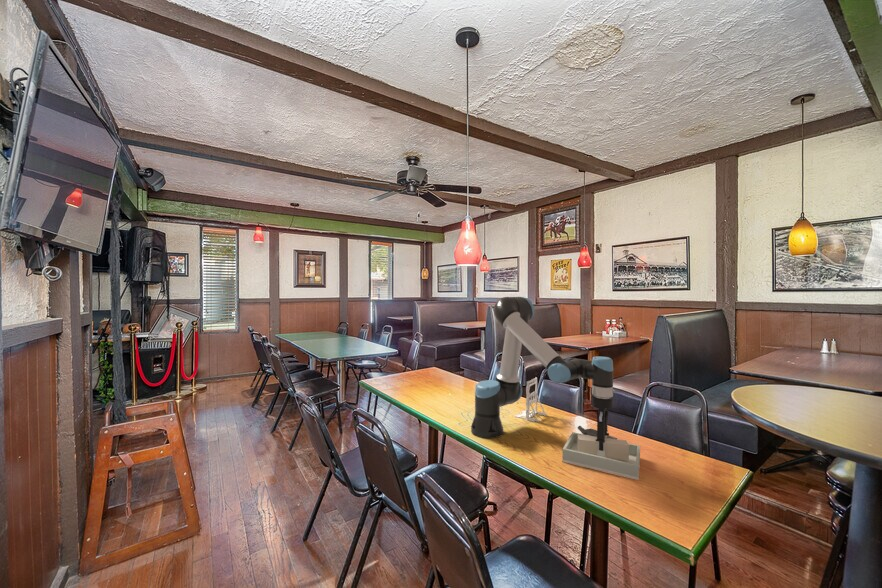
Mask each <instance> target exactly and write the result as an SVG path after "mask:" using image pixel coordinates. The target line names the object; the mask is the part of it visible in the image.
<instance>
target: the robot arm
mask: <svg viewBox="0 0 882 588" xmlns="http://www.w3.org/2000/svg"><path fill="white" fill-rule="evenodd" d="M535 310H536V309H535V307H534V304H533V303H532V301H531V299H529V298H527V297H524V296H523V297H522V296H505V297H501V298H499V299H498V300H497V301H496V302H495V304H494V307H493V313H494V317H495V319H496V320H497V322H498V323H499V324H500V326H501V327H502V328H503V329H505V333H504V341H503V348H502V355H501V361H500V369H499V373H497V374H496V375H495V380H494V379H488V380H481V381H478V382H477V384H475V389H474V390H475V391H474V416H473V420H472V422H471V426H470V432H471V434H473V435H474V436H476V437H479V438H484V439H495V438H499V437H500V438H501V436H502V435H503V434H504V426H503V423H502V420H501V416H500V415H501V413H500V412H501V407H505V406H507V405H513V404H514V403H516V402H518V401H519V400H520V399H521V398H522V395H523V386H522V385H521V382H520V381H521V380H520V378H519V377H518V371H519V365H520V359H521V352H522V345H523V346H524V347H525V348H526V349H527V350H528V351H529V352H530V353H531V355H533V356H534V357H535V358H536V360H537V361H539V363H541V365H542V366H544V368H545V369H546V370H547V376H548V377H549V378H548V379H549V380H551V382H553V383H554V384H555V383H556V384H564V383H567V382H569V381H572V380H573V381H574V380H575V379H587V380H591V381H592V383H591V384H592V385H591V394H592V396H591V397H592V398H591V399H592V401H591V402H592V403H591V404H592V406H593V407H594V408H597V411H596V422H597V423H596V424H597V425H596V430H597V439H595V441H598V447H597V456H601V457H605V438H607V436H606V435H608V436H610V433H609V430H608V419H609V409H612V408H613V407H614V398H613V396H614V392H615V391H616V390H615V389H614V362H613V359H612V358H611V357H609V356H601V355H600V356H597V355H596V356H593V357H592V360H588V359H583V358H582V359H581V358H576V357H566V358H565V359H564V358H563V357H562V356H560V355H559V353H558V352H557V351H555V350H554V349H553V348H552V346H551V345H549V344H548V343H547V342H546V341H545V340H544V339H543V338H542V337H541V335H539V334H538V332H536V331H535V330H534V329H533V328H532V327H531V326H530V325H529V321H530V320H532V318H534V315H535Z"/></svg>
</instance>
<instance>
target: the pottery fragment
mask: <svg viewBox="0 0 882 588" xmlns="http://www.w3.org/2000/svg"><path fill="white" fill-rule="evenodd" d="M577 430H578V431H579V432H580V434H584V435H589V436H594V437H597V429H595V428H583V426H582V425H578V426H577ZM606 436H607V438H611V439H618V438H617V437H614V436H611V435H609V436H608V435H606Z"/></svg>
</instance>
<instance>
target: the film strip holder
mask: <svg viewBox="0 0 882 588" xmlns="http://www.w3.org/2000/svg"><path fill="white" fill-rule="evenodd" d="M534 385H535V389H534V391H533V392H531V393H530V389H531V387H532V386H534ZM525 390H526V391H525V392H526V393H525V395H526V398H525V401H526V402H525V406H526V409H525V410H524V409H523V410H521V411H520V412H519V413H518V414H515V415H514V417H515V418H518V419H522V420H526V421H530V422H534V423H535V421H536V423H540V419H538V417H537V415H538V414H539V415H540V416H543V415H544V416H545V417H547V416H548V414H546V412H545V410H544V407H543V405H542V403H541V401H540V398H539V394H538V377H536V376H535V378H532V379H531V380H528V381H526V387H525ZM538 403H539V405H540V408H541V410H542V411H538ZM533 404H535V405H534V408H533ZM530 407H531V410H530ZM521 413H522V414H521ZM533 413H534V414H533ZM537 413H538V414H537ZM539 415H538V416H539ZM544 416H543V417H544ZM531 417H532V418H531ZM533 417H535V418H533Z"/></svg>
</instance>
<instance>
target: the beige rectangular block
mask: <svg viewBox="0 0 882 588" xmlns="http://www.w3.org/2000/svg"><path fill="white" fill-rule="evenodd" d="M595 439H597V437H593V436H585V435H578V440H577V450H578V452H583V453H587V454H592V455H596V456H597V447H598V441H595ZM628 443H629V442H628V441H627V440H626V439H625V440H624V439H619V438H617V439H611V438H605V458H610V459H616V460H624V461H629V445H628Z"/></svg>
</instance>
